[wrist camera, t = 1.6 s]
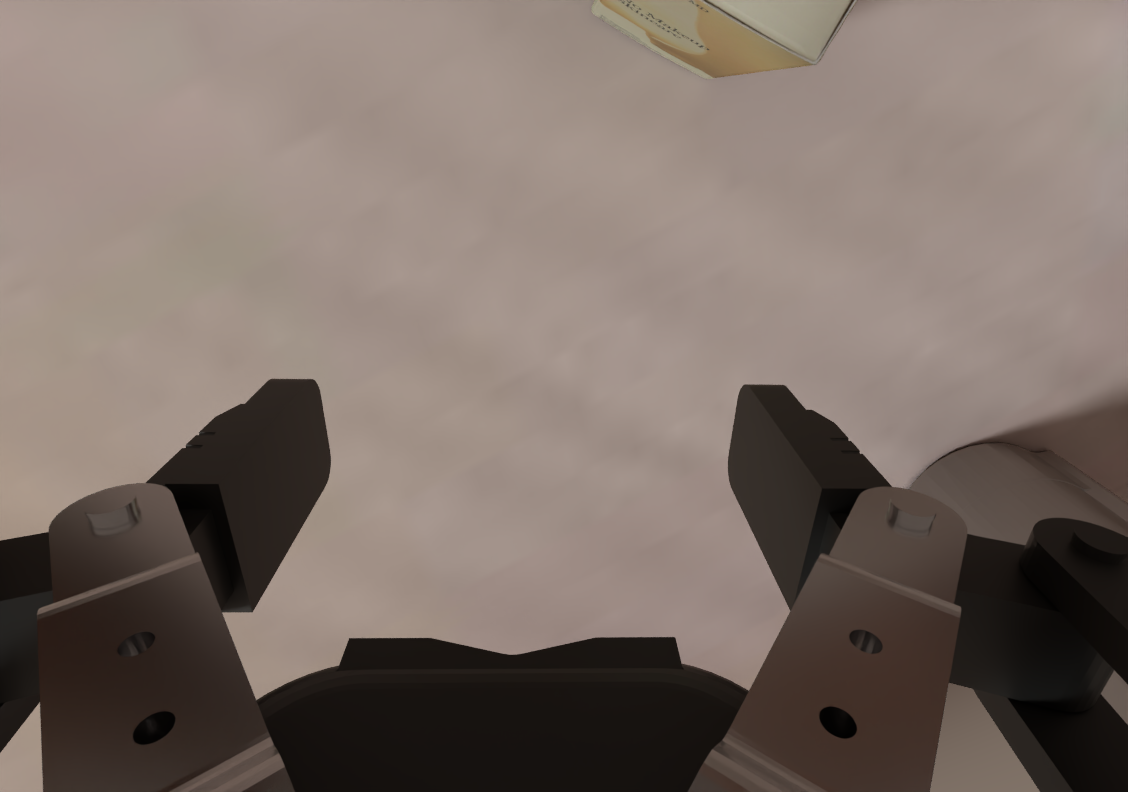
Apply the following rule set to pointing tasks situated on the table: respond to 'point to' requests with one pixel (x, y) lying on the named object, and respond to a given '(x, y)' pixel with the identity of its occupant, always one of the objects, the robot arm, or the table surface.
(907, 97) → the table surface
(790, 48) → the skincare box
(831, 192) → the table surface
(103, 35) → the table surface
